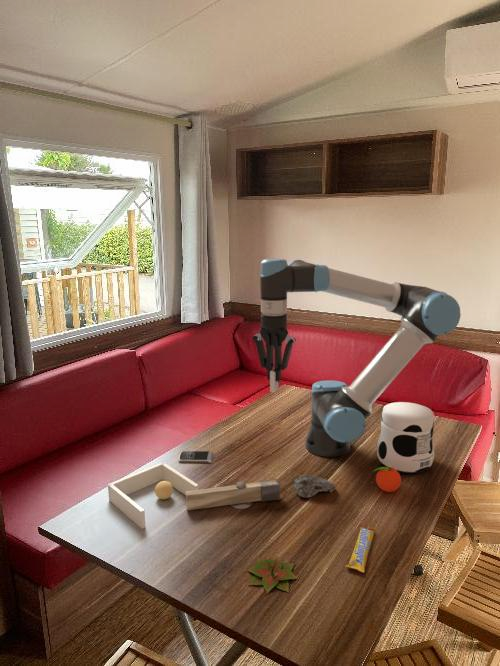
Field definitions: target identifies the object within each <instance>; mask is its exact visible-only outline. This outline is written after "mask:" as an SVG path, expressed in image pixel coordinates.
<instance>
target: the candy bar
mask: <svg viewBox="0 0 500 666" xmlns="http://www.w3.org/2000/svg"><path fill="white" fill-rule="evenodd" d="M365 527H366V525H362V524H361V525H360V526H359V529H360V530H359V533H358V536H357V540H356V542H355V546H354V549H353V550H352V553H351V557H350V559H349V561H348V564H345V566H344V567H345V568H347V569H353V570H356V571H358V572H361V573H365V568H366V565H367V560H368V556H369V553H370V549H371V546H372V543H373V540H374V539H373V538H374V535H375V533H376V529H375V528H374V527H371V526H367V527H366V528H365Z"/></svg>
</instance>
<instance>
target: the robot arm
mask: <svg viewBox="0 0 500 666" xmlns="http://www.w3.org/2000/svg"><path fill="white" fill-rule="evenodd" d="M259 281H260V282H259V283H260V312H261V314H260V330H259V333H256V334H255V335H252V339H253V342H254V343H255V346H256V351H257V355H258V359H259V363H260V368H262V369H263V368H264V369H265V370H266V373H267V374H266V375H267V380H268V381H269V392H270V393H277V391H279V382H280V381H281V380H282V371H284V370H285V369H287V368H288V365H289V362H290V357H291V353H292V349H293V345H294V344H295V342H296V337H292V336H291V335H290V334H289V330H288V329H287V327H288V315H287V312H288V293H306V292H307V293H311V292H313V293H314V292H315V293H319V292H324V293H327V294H331V295H335V296H340V297H343V298H346V299H351V300H355V301H357V302H363V303H366V304H370V305H374V306H378V307H382V308H384V309H385V310H386V311H387V312H389V313H393V314H395V315H399V316H400V317H401V318H400V327H399V328H398V329H397V330H396V331H395V332H394V334H393V335H392V336H391V337H390V338H389V339H388V340H387V342H386V343H385V344H384V345H383V346H382V347H381V349H380V350H379V351H378V352H377V353H376V354H375V355H374V357H373V358H372V359H371V361H369V363H368V364H367V365H366V366H365V367H364V369H363V370H362V371H361V372H360V373H359V375H357V376H356V378H355V379H354V380H353V381H352V383H351V384H350V385H347V384H346V383H345V382H343V381H339V380H320V381H317V382H314V383H313V384H312V387H311V391H310V393H311V403H310V404H311V407H310V408H311V409H310V412H311V413H310V425H309V429H308V431H307V434H306V436H305V442H304V444H305V445H304V446H305V449H306V450H307V451H308V452H310V453H311V454H313V455H317V456H320V457H324V458H327V457H329V458H333V457H342V456H344V455H346V454H348V453H349V452H350V450H351V442H354V441H356V440H358V439H359V438H360V437H361V436H362V435H363V434H364V432H365V431H366V427H367V426H366V425H367V419H368V418H369V417H370V416H371V414H372V413H373V407H372V405H373V404H374V403H375V402H376V400H377V399H378V398H379V397H380V396H381V395H382V393H384V392H385V390H386V389H387V388H388V387H389V386H390V384H392V382H393V381H394V380H395V379H396V378H397V376H398V375H399V374H400V373H401V372H402V370H403V369H404V368H405V367H406V366H407V365H408V364H409V363H410V361H411V360H412V359H413V358H415V355H416V354H417V353H418V352H419V351H420V350H422V348H423V347H424V345H427V344H434V342H435V341H436V340H437V339H438V337H439V336H441V335H442V336H444V335H447V334H451V332H453V331H454V330H455V329H456V328H457V326H458V325H459V322H460V320H461V307H460V305H459V303H458V300H457V299H455V297H453V296H452V295H449V294H448V293H446V291H445V292H444V291H440V290H436V289H434V288H430V287H427V286H420V285H413V284H406V283H400V282H396V281H395V282H393V283H392V284H391V283H389V282H388V283H387V282H384V281H380V280H377V279H372V278H369V277H365V276H361V275H356V274H354V273H349V272H346V271H341V270H339V269H333V268H329V267H328V265H326V264H314V263H311V262H310V263H309V262H307V261H304V260H301V259H296V260H292V261H290V262H289V263H288V261H287V259H285V258H265V259H262V260H261V263H260V274H259ZM284 341H285V343H286V345H285V348H284V351H283V355H282V347H283V343H284ZM264 342H265V345H264Z"/></svg>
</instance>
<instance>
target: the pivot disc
mask: <svg viewBox="0 0 500 666" xmlns="http://www.w3.org/2000/svg"><path fill="white" fill-rule="evenodd" d="M252 505H253V502H246V503H238V504H231V505H230V506H231V507H232V508H234V509H235V510H236V509H237V510H246V509H249V508H251V506H252Z"/></svg>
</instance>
